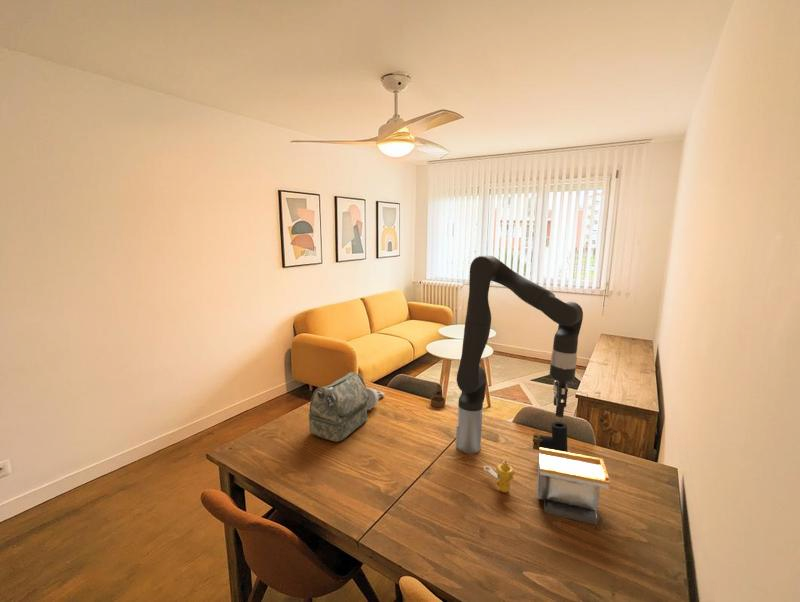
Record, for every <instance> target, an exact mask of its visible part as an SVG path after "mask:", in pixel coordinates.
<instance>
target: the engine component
mask: <svg viewBox="0 0 800 602" xmlns="http://www.w3.org/2000/svg"><path fill="white" fill-rule="evenodd" d="M366 388H367V391H368V396H369V399H368V401H367V411H369V410H371V409H372V408H374V407H375V406H376V405H377V403H379V398H383V397H385V395H386V394H385V392H383V391H380V390H379V391H377V390H376V389H374V388H370V387H366Z"/></svg>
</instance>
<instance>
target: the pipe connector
mask: <svg viewBox="0 0 800 602" xmlns="http://www.w3.org/2000/svg"><path fill="white" fill-rule="evenodd" d="M532 443H533V445H532V450H535V451H539V450H540V447H541V448H546V449H552V450H557V451H563V452H568V453H569V451H568V426H567V424H566V423H564V422H562V421H561V422H560V421H557V422H552V423H551V436H550V435H549V436H548V435H543V434H537V433H533V437H532Z"/></svg>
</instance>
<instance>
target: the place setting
mask: <svg viewBox="0 0 800 602" xmlns="http://www.w3.org/2000/svg"><path fill="white" fill-rule="evenodd" d="M436 391H438V393H441V391H442V385H441V384H437V385H436ZM430 404H431V406H432V407H433V408H435V409H432V408H431V407H428V406H427V405H426V404H425V406H426V408H427V409H429V410H431V411H437V412H438V411H440V412H441V411H443V409H440V408H443V407H444V406H445V405H446V398H445V397H443V396H438V395H433V396H432V397H430ZM436 408H439V409H436ZM445 410H447V409H446V408H445V409H444V411H445Z"/></svg>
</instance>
